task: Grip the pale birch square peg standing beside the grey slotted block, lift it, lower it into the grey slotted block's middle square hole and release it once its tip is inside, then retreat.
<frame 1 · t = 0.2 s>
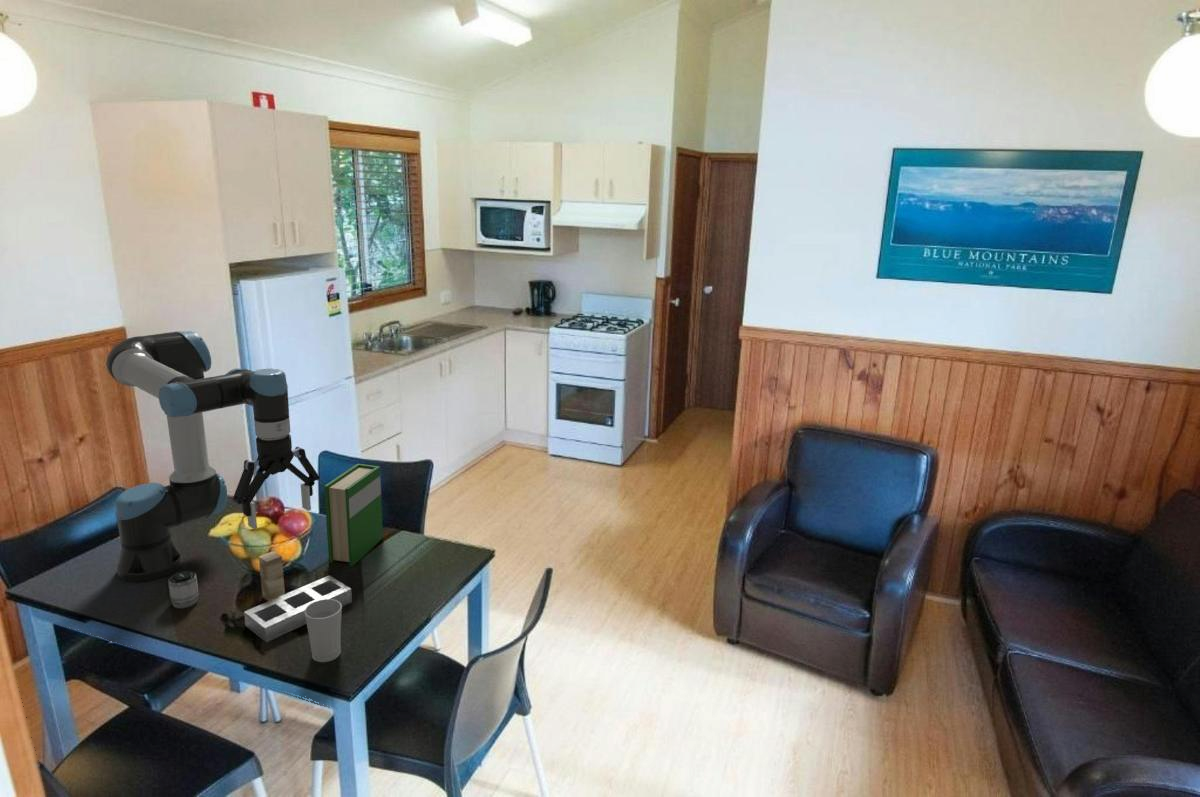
hand: (280, 517, 170), 27 cm above the table, tool pointing down, fingers open, 13 cm apart
cup: (326, 654, 164), on the table
grey slotted block: (300, 613, 178), on the table
peg: (273, 596, 185), on the table
hardback book: (357, 550, 211), on the table
camera lens: (185, 603, 181), on the table
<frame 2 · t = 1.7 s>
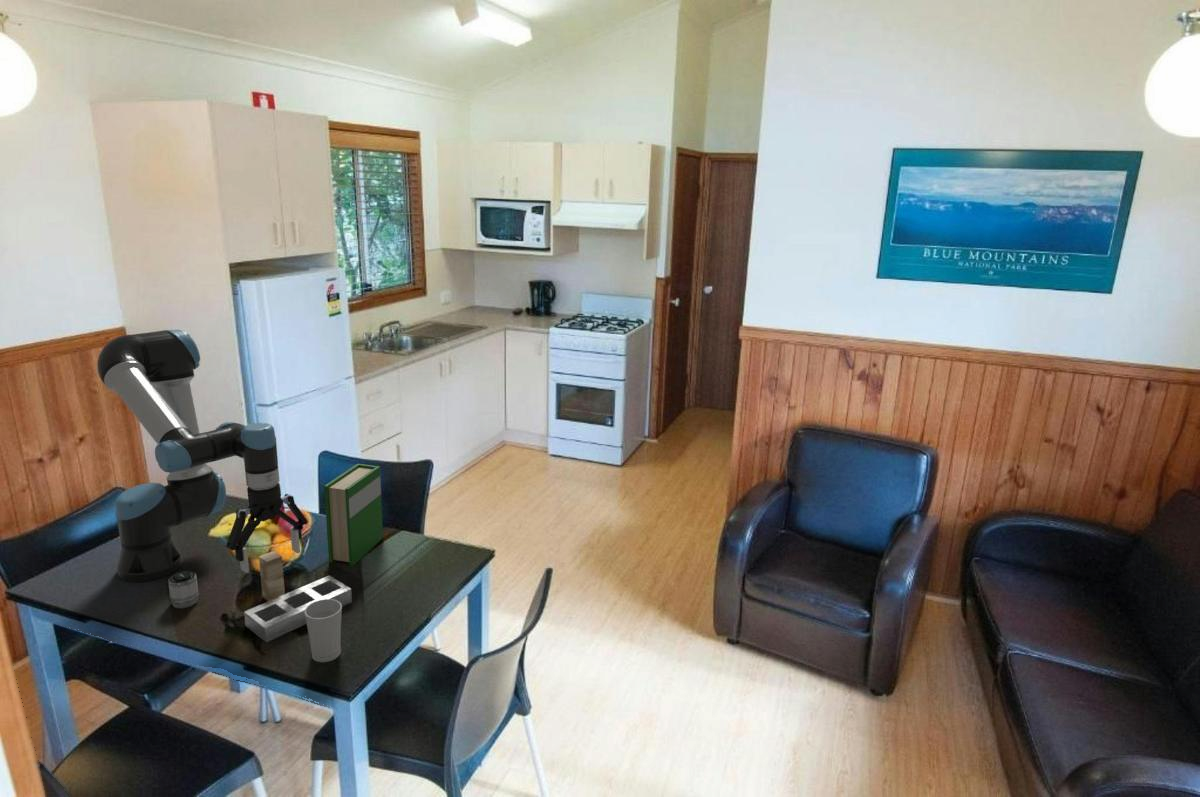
hand: (271, 560, 182), 11 cm above the table, tool pointing down, fingers open, 13 cm apart
nothing on the table moved.
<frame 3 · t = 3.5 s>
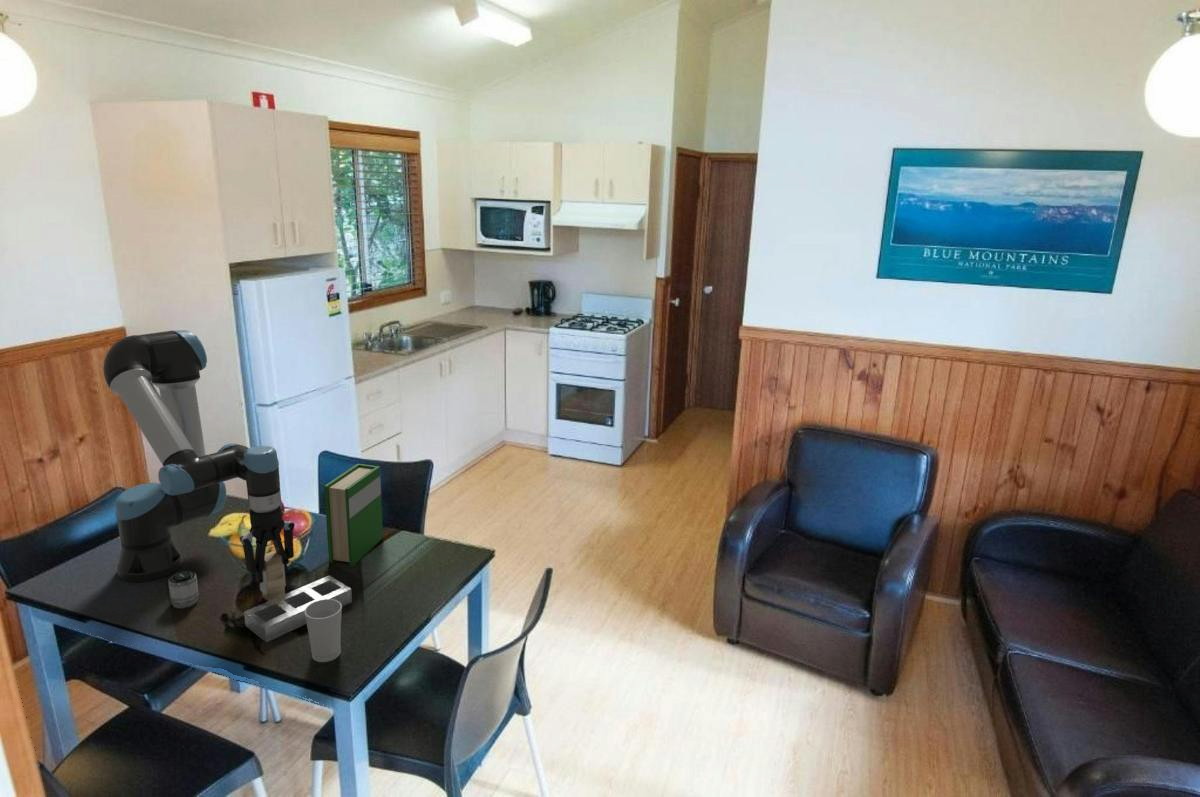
hand: (273, 588, 184), 3 cm above the table, tool pointing down, fingers closed on peg, 4 cm apart
peg: (273, 596, 185), on the table, touching gripper
everything else where it was.
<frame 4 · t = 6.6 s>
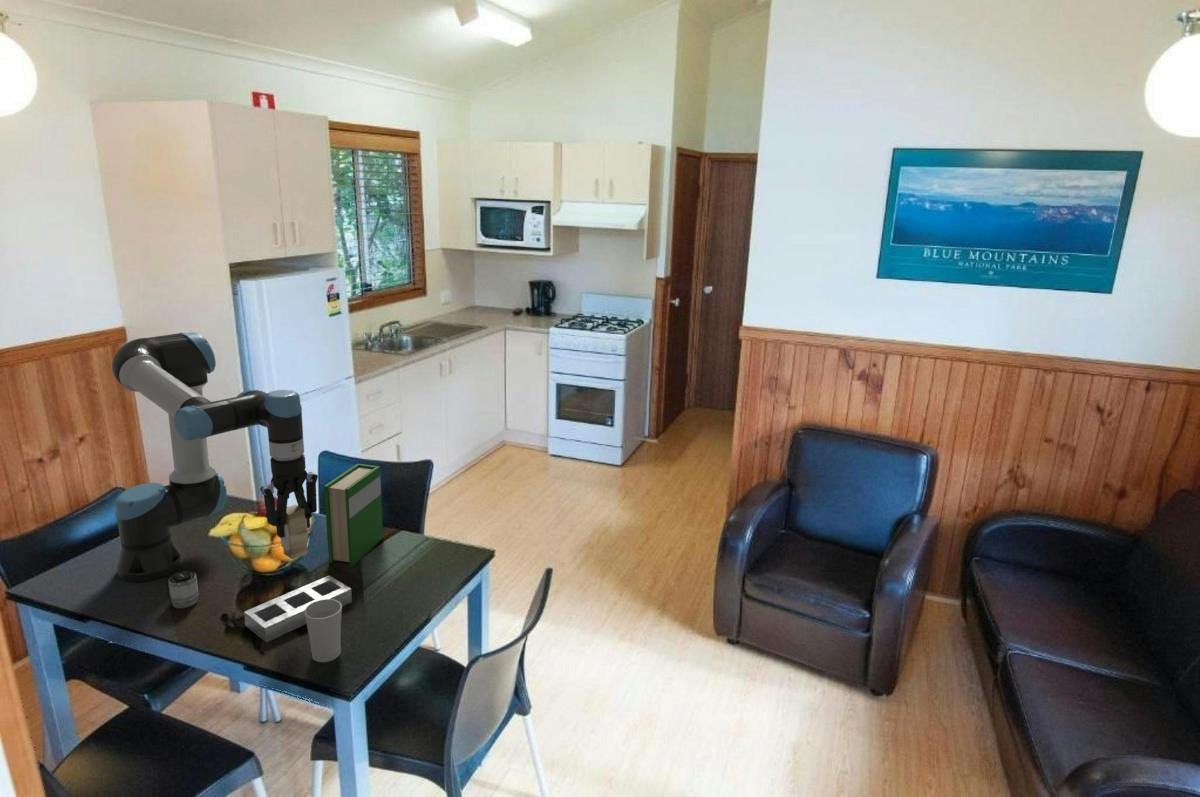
hand: (295, 544, 173), 20 cm above the table, tool pointing down, fingers closed on peg, 4 cm apart
peg: (295, 553, 173), point 17 cm above the table, touching gripper
everything else where it was.
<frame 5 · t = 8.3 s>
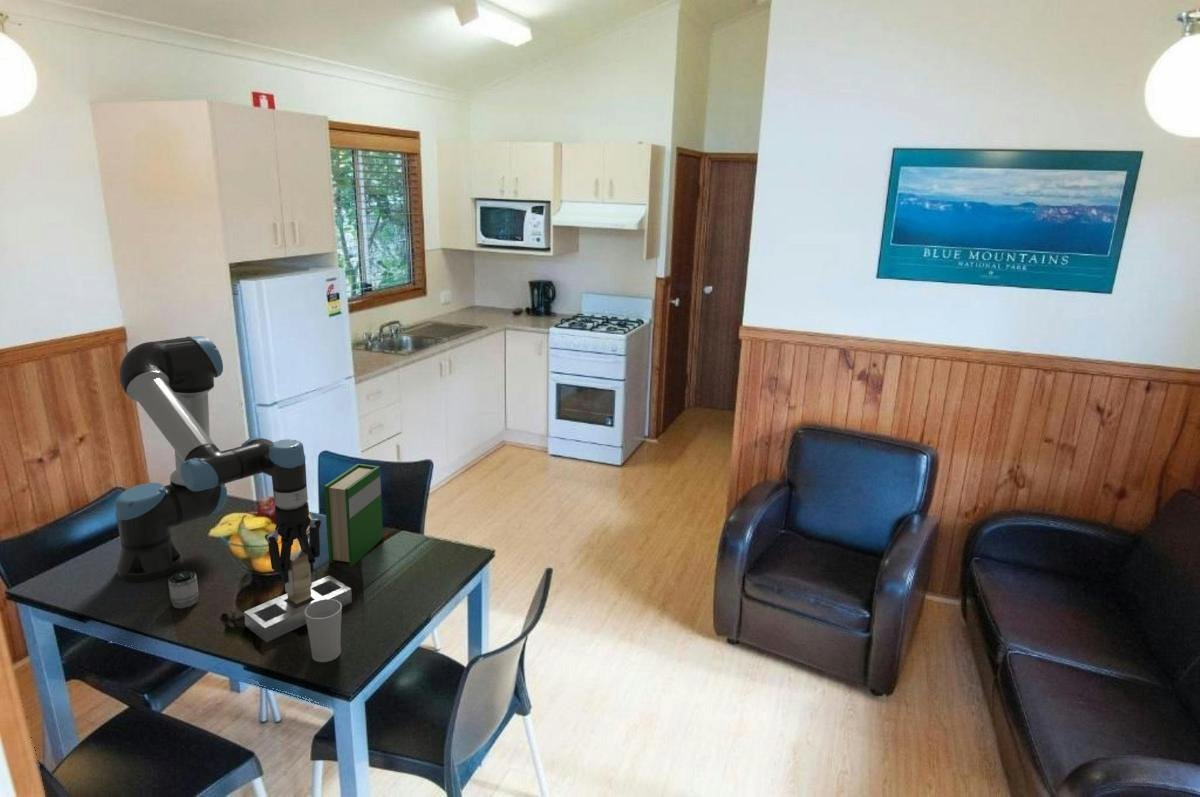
hand: (298, 588, 176), 7 cm above the table, tool pointing down, fingers closed on peg, 4 cm apart
peg: (299, 597, 177), point 5 cm above the table, touching gripper
everything else where it was.
when the fingers open (6 cm above the table, at t = 9.5 s): peg drops 3 cm, resting in grey slotted block.
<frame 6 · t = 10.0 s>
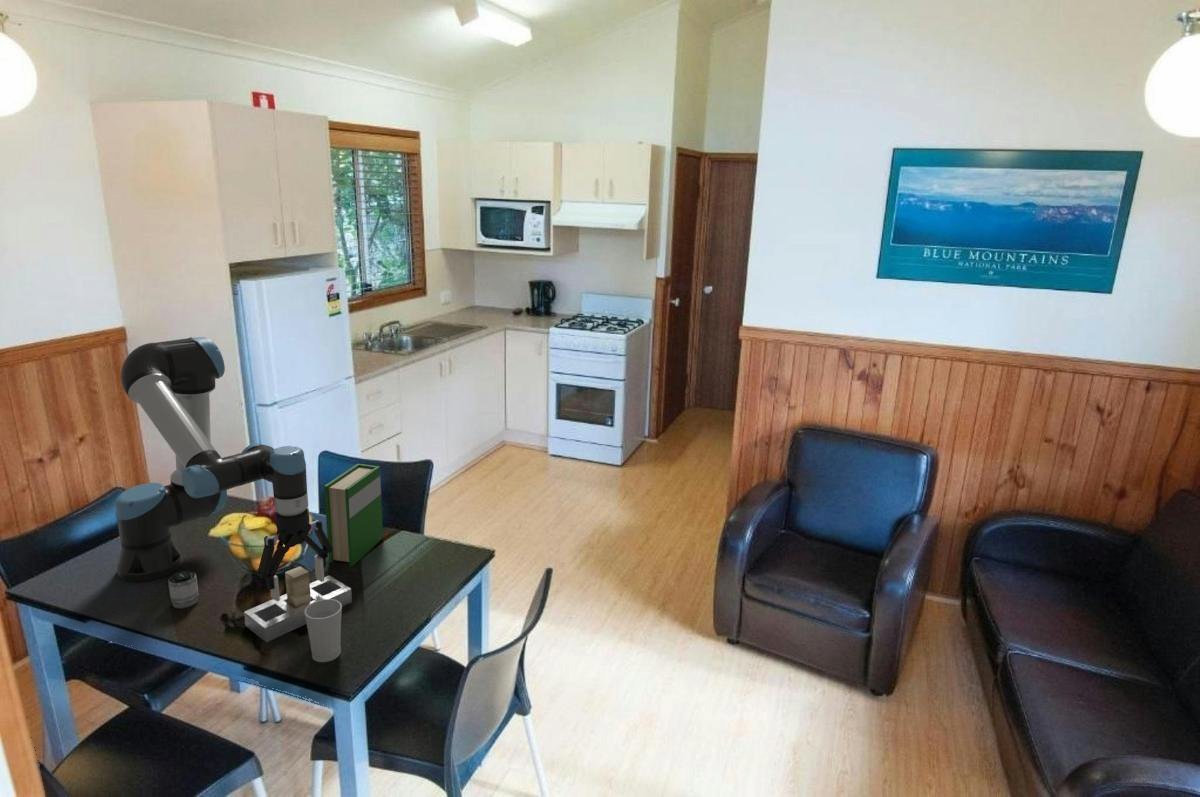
hand: (298, 589, 176), 7 cm above the table, tool pointing down, fingers open, 11 cm apart
peg: (300, 613, 178), resting in grey slotted block
everything else where it was.
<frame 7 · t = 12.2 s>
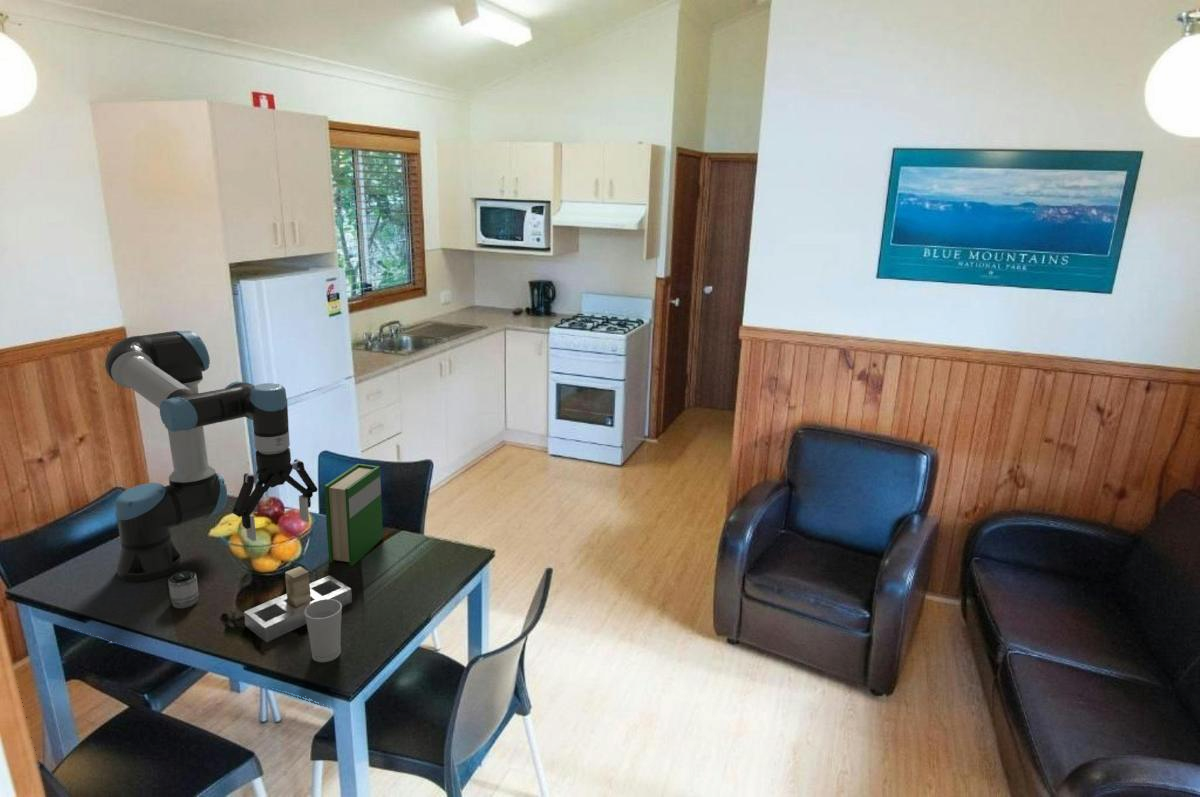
hand: (278, 529, 173), 23 cm above the table, tool pointing down, fingers open, 13 cm apart
nothing on the table moved.
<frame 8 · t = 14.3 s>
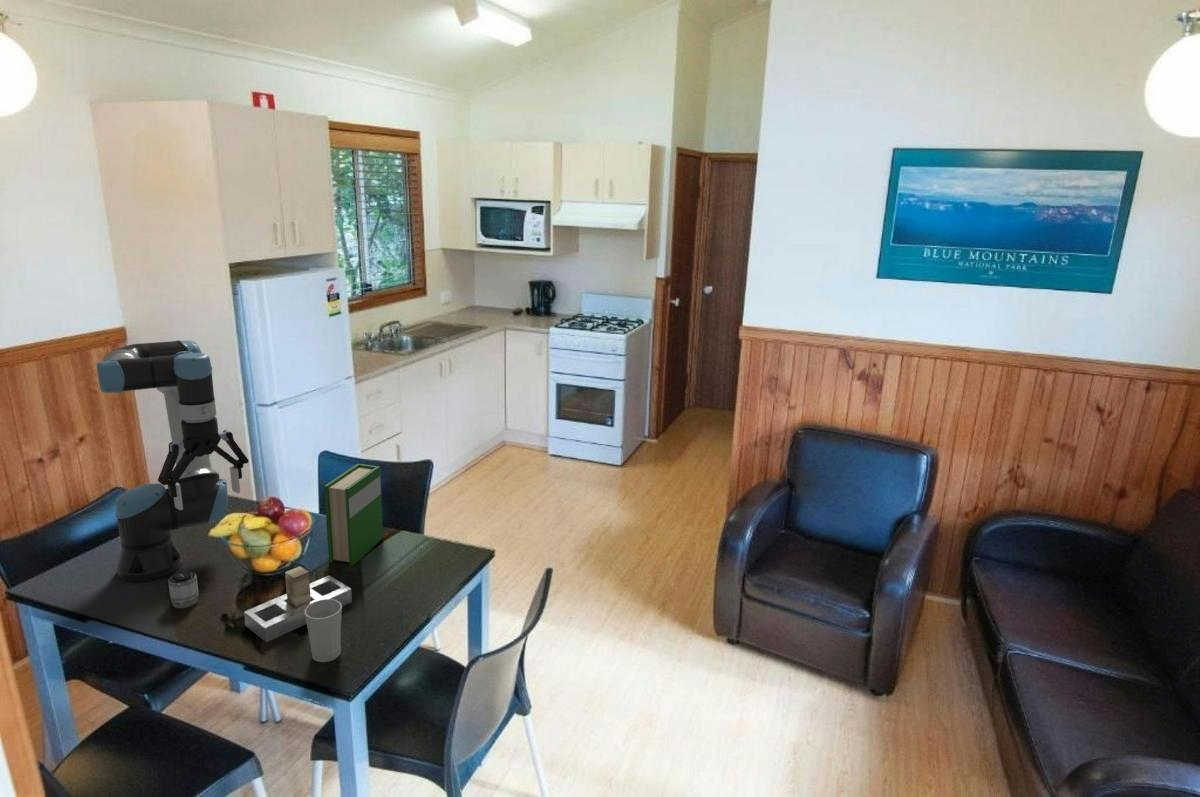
hand: (208, 499, 174), 29 cm above the table, tool pointing down, fingers open, 13 cm apart
nothing on the table moved.
at the end: peg 0.1 cm off-centre on the grey slotted block, point 0.0 cm above the grey slotted block's base; peg tilted 0°; the gripper is holding nothing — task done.
